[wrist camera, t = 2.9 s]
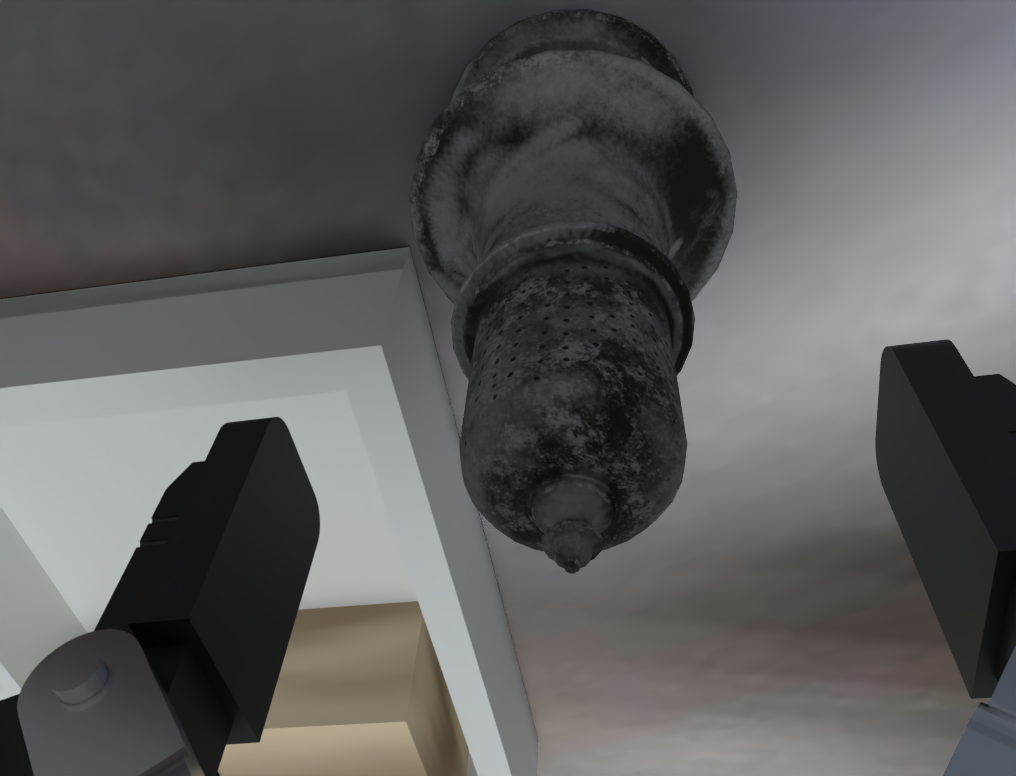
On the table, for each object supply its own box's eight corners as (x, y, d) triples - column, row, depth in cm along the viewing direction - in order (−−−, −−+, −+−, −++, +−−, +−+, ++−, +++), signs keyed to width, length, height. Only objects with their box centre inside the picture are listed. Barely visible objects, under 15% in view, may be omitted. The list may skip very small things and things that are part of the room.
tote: (-130, 315, 23) (-241, 415, 20) (409, 246, 21) (381, 345, 18) (172, 757, 35) (133, 864, 32) (538, 739, 33) (534, 852, 30)
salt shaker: (381, 167, 20) (212, 598, 11) (540, -75, 17) (504, 227, 8) (594, 305, 22) (613, 778, 12) (772, 109, 19) (979, 538, 9)
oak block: (111, 623, 29) (54, 739, 25) (424, 600, 27) (405, 721, 24) (194, 749, 33) (153, 863, 30) (470, 736, 31) (459, 854, 28)
